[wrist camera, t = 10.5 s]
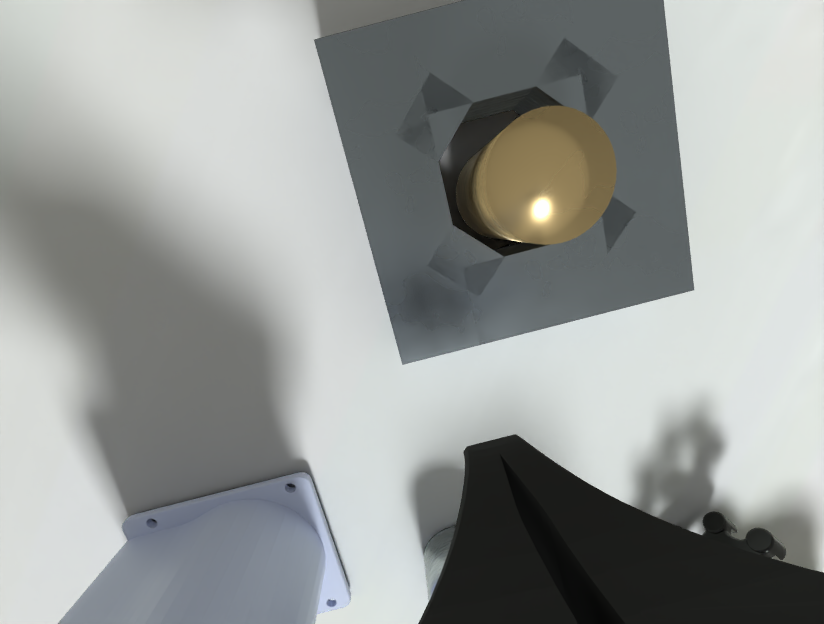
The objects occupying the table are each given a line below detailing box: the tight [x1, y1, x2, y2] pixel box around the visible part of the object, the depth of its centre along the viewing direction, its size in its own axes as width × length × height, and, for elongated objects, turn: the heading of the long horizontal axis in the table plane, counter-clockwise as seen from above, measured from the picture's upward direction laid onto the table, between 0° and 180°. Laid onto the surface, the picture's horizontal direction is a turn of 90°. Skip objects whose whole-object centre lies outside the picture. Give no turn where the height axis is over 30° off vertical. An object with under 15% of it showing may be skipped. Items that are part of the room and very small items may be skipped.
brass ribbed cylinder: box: [456, 106, 617, 245], centre depth 15 cm, size 4×4×6 cm
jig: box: [314, 0, 694, 365], centre depth 17 cm, size 12×12×3 cm
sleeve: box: [424, 527, 455, 600], centre depth 20 cm, size 4×4×4 cm
